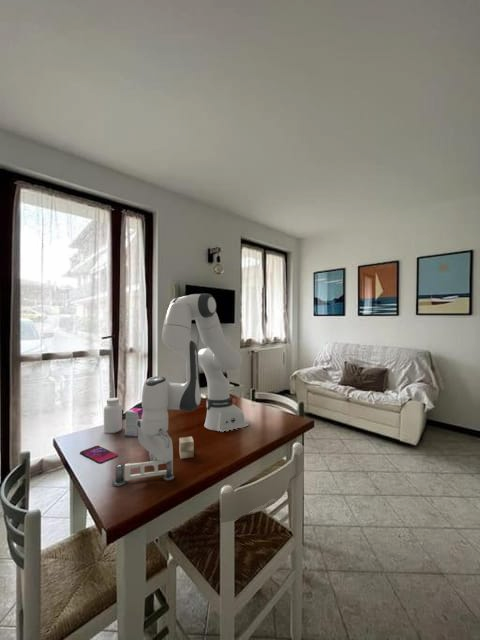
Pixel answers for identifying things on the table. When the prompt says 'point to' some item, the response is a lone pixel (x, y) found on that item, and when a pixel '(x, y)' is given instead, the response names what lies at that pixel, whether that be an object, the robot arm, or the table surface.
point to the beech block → (186, 447)
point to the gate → (142, 474)
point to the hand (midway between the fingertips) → (154, 465)
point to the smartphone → (98, 454)
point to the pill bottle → (112, 416)
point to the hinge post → (119, 476)
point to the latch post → (169, 472)
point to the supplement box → (132, 421)
